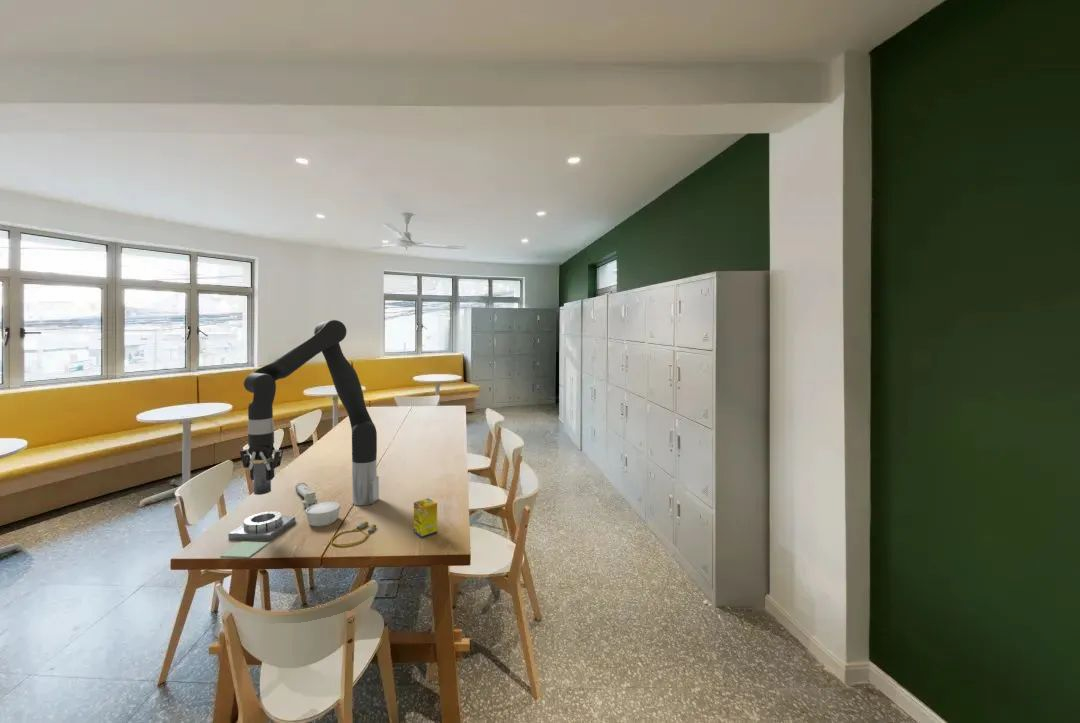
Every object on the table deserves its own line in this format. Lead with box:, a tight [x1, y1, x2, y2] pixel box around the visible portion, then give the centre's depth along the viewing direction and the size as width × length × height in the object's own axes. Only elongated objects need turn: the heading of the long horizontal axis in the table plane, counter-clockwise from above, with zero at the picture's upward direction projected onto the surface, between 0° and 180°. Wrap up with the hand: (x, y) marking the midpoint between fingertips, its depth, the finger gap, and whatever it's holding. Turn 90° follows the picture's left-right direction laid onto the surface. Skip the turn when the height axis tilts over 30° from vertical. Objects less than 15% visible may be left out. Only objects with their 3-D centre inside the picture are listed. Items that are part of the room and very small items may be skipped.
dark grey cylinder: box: [253, 458, 272, 496], centre depth 147 cm, size 5×5×12 cm
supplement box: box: [413, 497, 438, 539], centre depth 148 cm, size 6×6×11 cm
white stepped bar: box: [295, 482, 319, 510], centre depth 176 cm, size 5×7×25 cm
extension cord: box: [330, 521, 377, 548], centre depth 145 cm, size 12×16×2 cm
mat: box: [220, 541, 269, 559], centre depth 135 cm, size 9×9×1 cm
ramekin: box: [305, 501, 341, 527], centre depth 156 cm, size 11×11×5 cm
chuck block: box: [227, 510, 296, 541], centre depth 148 cm, size 14×14×4 cm
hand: (262, 479), depth 147 cm, fingers closed on dark grey cylinder, 5 cm apart
